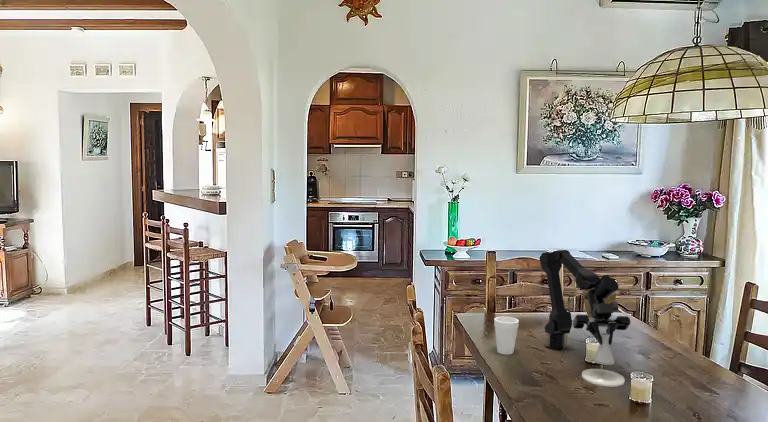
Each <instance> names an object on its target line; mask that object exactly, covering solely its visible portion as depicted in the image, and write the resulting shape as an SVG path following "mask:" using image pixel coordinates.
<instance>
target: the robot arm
mask: <svg viewBox="0 0 768 422" xmlns="http://www.w3.org/2000/svg"><path fill="white" fill-rule="evenodd" d="M539 262H540V267H541V269H542V271H543V272H544V273H545V274H546V277H547V278H546V279H547V285H548V292H549V299H550V304H551V311H550V313H549V315H548V317H549V319H548V320H549V321H548V322H547V323H546V325H544V331H545V333H546V334H548V335H549V343H548V344H547V345H545V348H548V349H551V350H555V351H563V350H565V349H566V348H568V345H565V335H566V334H570V332H571V329H572V328H573V329H581V330H582V329H583V328H584V327H585V325H586V328H585V329H586V331H587V332H589V333H590V334H591V335H592V336H593V337H594V338H595V340H596V341H597V342H598V344H599V345H602V338H601V335H600V333H601V332H600V328H599V327H600V326H599V325H605V326H606V327H607V328H606V329H605V333H608V334H610V336H609V345H610V346H612V343H613V336H614V333H615V331H626V330H628V328H629V326H630V325H631V323H632V322H631V318H630V317H629V315H628V316H627V315H617V316H616V318H615V319H611V318H612V314H614V313H617V312H619V304H618V302H616V301H615V302H612V303H610V304H607V303H605V299H607V298H609V297H610V296H611V295H612V294H613V293H614V292H615V291H616V292H617V290H619V283H618V281H616V280H615V279H614V278H613V277H610V275H609V274H603V275H602V276H601V277H600V276H599V275H598V274H597V273H595V272H594V271H592V270H589V269H587V268H585V266H583V265H582V264H581V263H580V262H579V261H578V260H577V259H576V258H575V257H574V256H573V255H572V254H571V252H570V251H569V250H568V249H556V250H554V251H551V252H548V251H547V252H542V253H541V255H540V256H539ZM562 266H564V267H565V268H566V269H567V271H569V272H570V273H571V275H573V277H574V282H575V284H576V285H577V286H578V288H579V289H580V290H581V291H583V290H590V289H592V290H590V291H589V292H587V294H586V295H585V297H584V296H583V299H584V298H585V299H588V302H589V307H590V310H589V312H590V313H591V316H592V318H588V315H587V314H576V315H575V317H574V319H572V313H571V311H568V310H567V309H566V308H565V301H564V297H563V295H564V294H563V289H562V282H561V277H560V272H561V269H562ZM609 317H610V318H609ZM572 326H573V327H572Z"/></svg>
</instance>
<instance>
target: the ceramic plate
mask: <svg viewBox="0 0 768 422" xmlns="http://www.w3.org/2000/svg"><path fill="white" fill-rule="evenodd" d="M581 378H582V379H583V380H584V381H586V382H587V383H589V384H591V385H595V386H599V387H605V388H606V387H607V388H615V387H617V388H618V387H621V386H623V385H625V381H626V379H625V377H624V376H623V375H621V374H619V373H618V372H616V371H612V370H609V369H608V370H607V369H603V368H588V369H585V370H583V371H582V372H581Z"/></svg>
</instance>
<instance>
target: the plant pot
mask: <svg viewBox="0 0 768 422" xmlns="http://www.w3.org/2000/svg"><path fill="white" fill-rule="evenodd" d="M590 290H592V289H590ZM590 290H582V294H583V295H582V296H583V301H584V308H585V311H586V312H585V313H586V315H587V316H588V318H592V316H591V313H590V312H589V310H590V307H589V302H588V299H585V298H584V297H585V295H586V294H587V292H589V291H590ZM617 293H618V292H617V291H615V292H614V293H613V294H612V295H611V296H610V297H609V298H607V299H605V303H607V304H610V303H612V302H616V299H617ZM609 319H611V317H609ZM603 326H604V327H605V326H606V325H599V327H603Z"/></svg>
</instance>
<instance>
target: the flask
mask: <svg viewBox="0 0 768 422" xmlns="http://www.w3.org/2000/svg"><path fill="white" fill-rule="evenodd" d="M600 335H601V338H602V345H600V344H599V345H598V347H597V349H596V352H595V355H594V356H593V358H592V359H593V360H592V361H594V362H595V363H596V364H598V365H599V364H600V365H605V366H606V365H607V366H610V365H611V366H613V365H614V364H615V359H614V355H613V352H612V349H611V347H610V346H611V345H609V336H610V334H608V333H606V332H600Z"/></svg>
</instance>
